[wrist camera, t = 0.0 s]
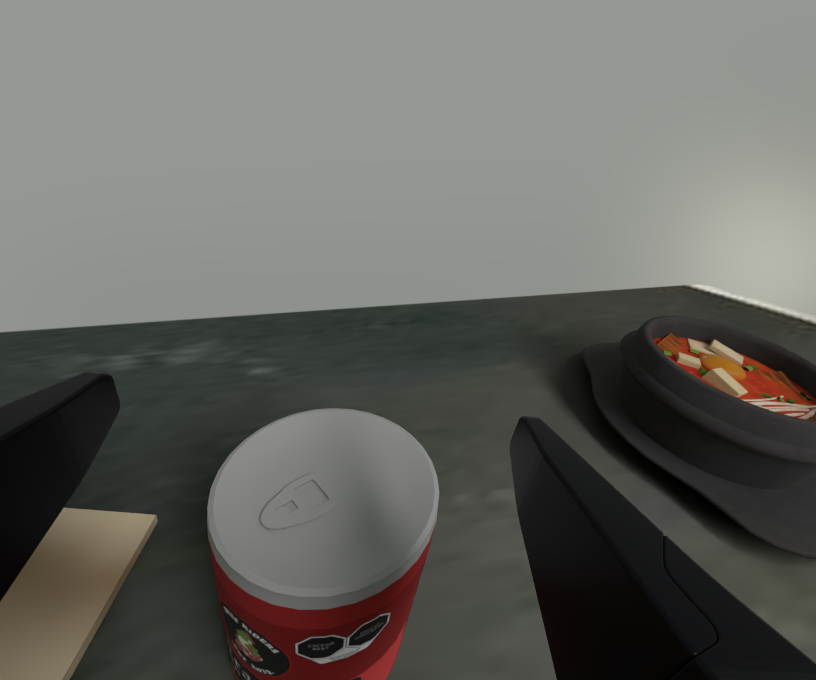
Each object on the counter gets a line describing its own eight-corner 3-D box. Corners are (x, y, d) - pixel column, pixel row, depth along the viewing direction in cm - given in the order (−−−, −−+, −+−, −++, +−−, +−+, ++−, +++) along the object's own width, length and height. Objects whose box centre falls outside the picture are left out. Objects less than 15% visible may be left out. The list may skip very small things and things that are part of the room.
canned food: (194, 658, 19) (150, 501, 13) (316, 527, 25) (323, 381, 19) (326, 793, 16) (345, 668, 10) (428, 607, 22) (475, 463, 16)
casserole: (930, 560, 29) (1042, 481, 25) (723, 598, 25) (816, 509, 20) (673, 357, 50) (710, 293, 45) (534, 356, 45) (560, 286, 41)
